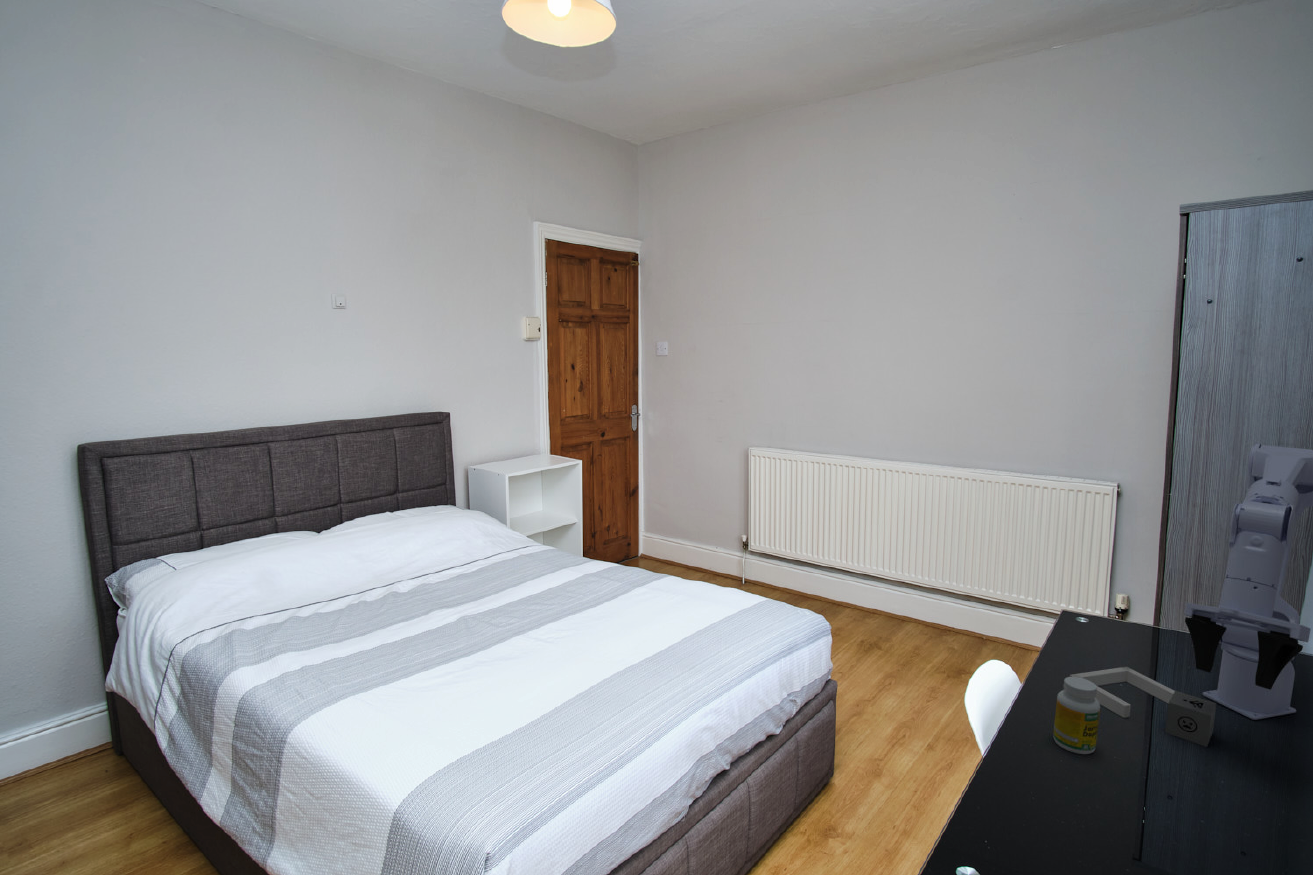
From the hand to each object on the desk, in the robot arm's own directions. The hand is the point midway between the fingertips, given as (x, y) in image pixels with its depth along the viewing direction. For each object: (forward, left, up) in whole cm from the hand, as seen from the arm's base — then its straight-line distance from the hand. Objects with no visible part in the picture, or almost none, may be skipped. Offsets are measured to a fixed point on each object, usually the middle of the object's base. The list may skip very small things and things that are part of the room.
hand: (1231, 678), depth 95 cm
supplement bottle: (+18, -8, -12) cm, 23 cm away
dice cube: (-2, -6, -12) cm, 14 cm away
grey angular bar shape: (-2, -16, -12) cm, 20 cm away
